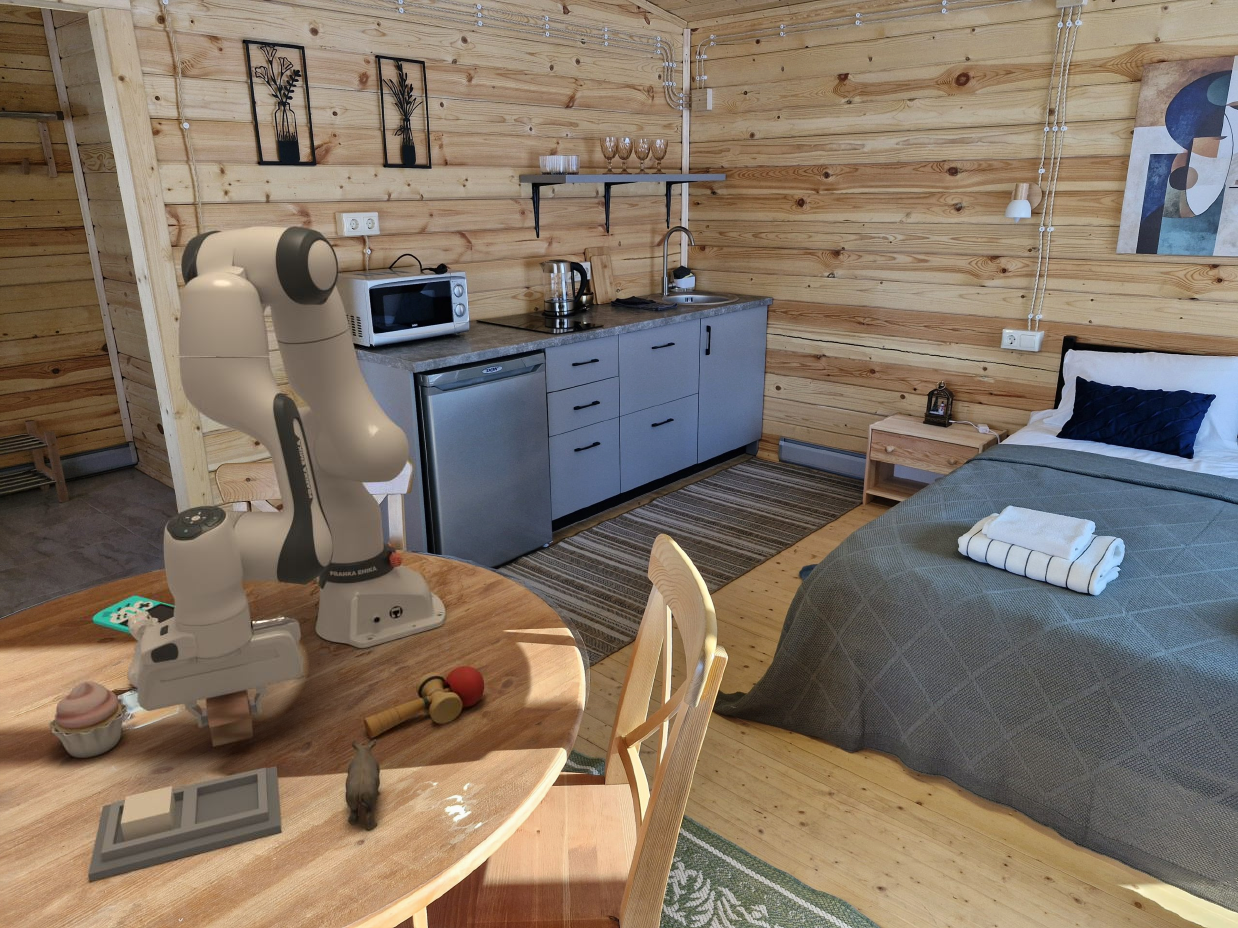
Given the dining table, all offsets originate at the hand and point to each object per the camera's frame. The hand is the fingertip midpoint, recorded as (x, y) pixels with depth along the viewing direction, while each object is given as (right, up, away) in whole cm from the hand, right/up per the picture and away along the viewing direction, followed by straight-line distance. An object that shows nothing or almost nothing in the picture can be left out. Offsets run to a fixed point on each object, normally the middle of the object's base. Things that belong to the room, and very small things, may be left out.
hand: (230, 717), depth 116 cm
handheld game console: (-33, +6, +37) cm, 50 cm away
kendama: (+25, -3, +9) cm, 27 cm away
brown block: (0, -2, +1) cm, 2 cm away
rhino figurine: (+21, -8, -8) cm, 24 cm away
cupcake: (-20, -4, +2) cm, 20 cm away
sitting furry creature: (-19, +1, +17) cm, 26 cm away
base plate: (+1, -9, -13) cm, 16 cm away
